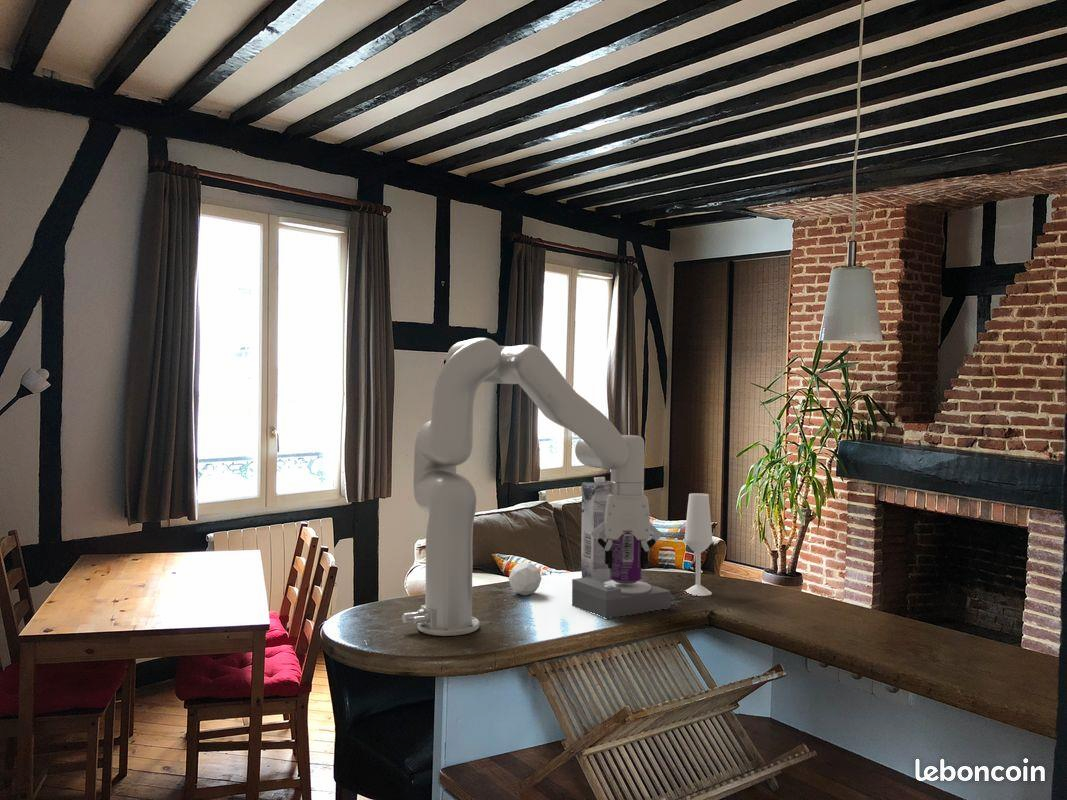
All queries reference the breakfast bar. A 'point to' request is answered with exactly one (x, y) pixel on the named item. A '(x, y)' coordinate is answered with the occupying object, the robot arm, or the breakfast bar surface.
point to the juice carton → (591, 519)
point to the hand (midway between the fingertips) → (625, 567)
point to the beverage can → (626, 559)
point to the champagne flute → (698, 534)
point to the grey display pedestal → (618, 597)
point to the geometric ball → (525, 578)
